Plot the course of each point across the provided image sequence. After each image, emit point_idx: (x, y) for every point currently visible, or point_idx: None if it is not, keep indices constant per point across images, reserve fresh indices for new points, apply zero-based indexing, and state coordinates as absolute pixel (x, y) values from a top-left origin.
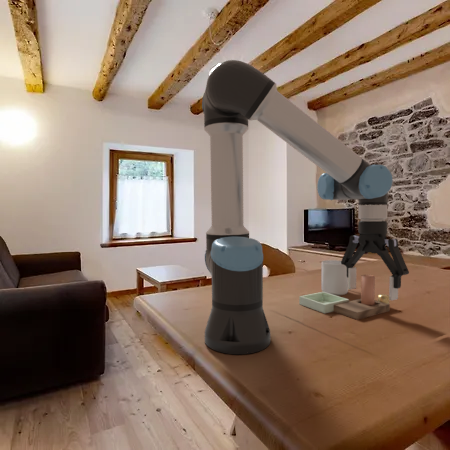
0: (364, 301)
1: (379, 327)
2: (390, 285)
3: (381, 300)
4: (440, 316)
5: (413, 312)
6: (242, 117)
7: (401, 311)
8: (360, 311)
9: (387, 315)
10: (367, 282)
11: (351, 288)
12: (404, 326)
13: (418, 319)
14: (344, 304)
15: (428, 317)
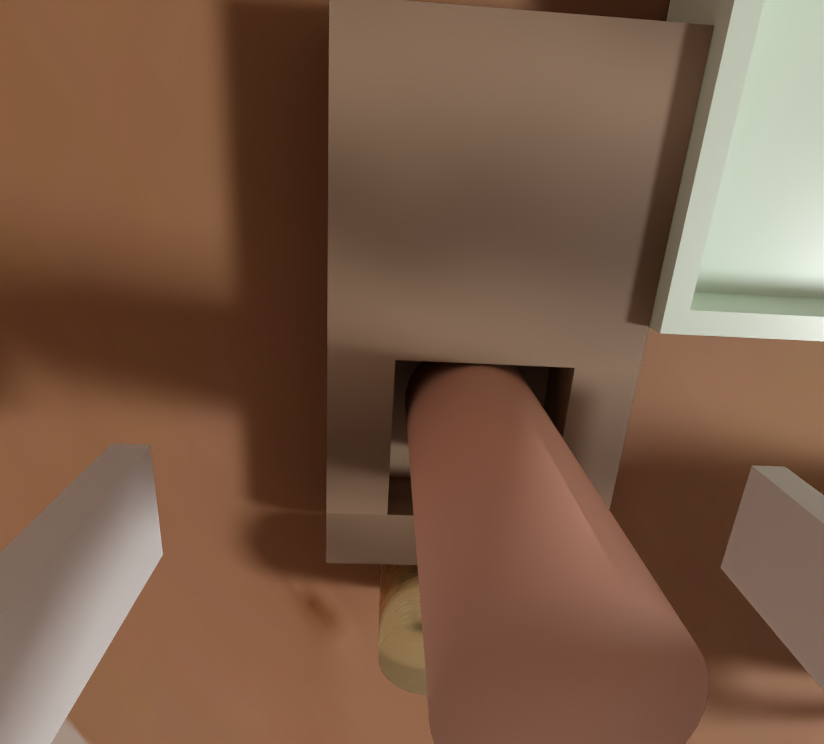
0: (477, 377)
1: (111, 71)
2: (5, 582)
3: None
4: (90, 709)
5: (240, 651)
6: None
7: (303, 608)
8: (335, 76)
9: (300, 441)
10: (489, 535)
11: (751, 493)
12: (36, 305)
13: None
14: (620, 163)
15: None
